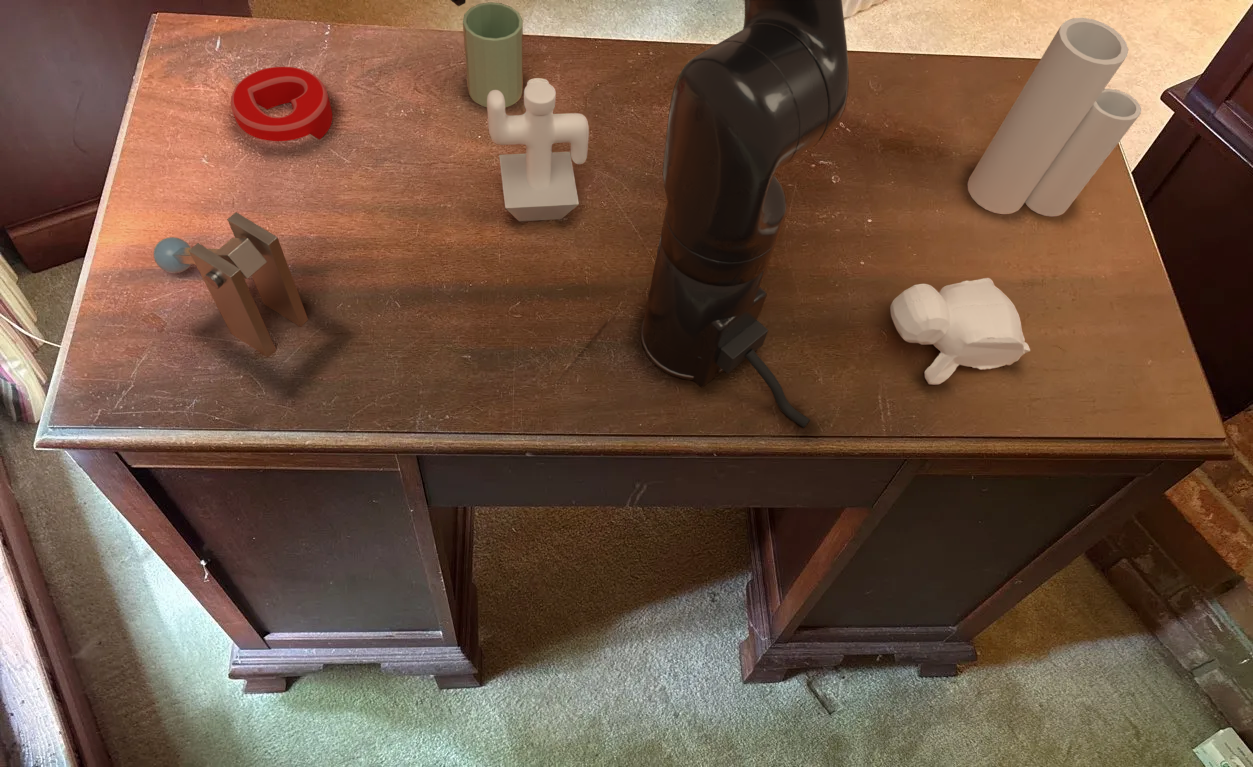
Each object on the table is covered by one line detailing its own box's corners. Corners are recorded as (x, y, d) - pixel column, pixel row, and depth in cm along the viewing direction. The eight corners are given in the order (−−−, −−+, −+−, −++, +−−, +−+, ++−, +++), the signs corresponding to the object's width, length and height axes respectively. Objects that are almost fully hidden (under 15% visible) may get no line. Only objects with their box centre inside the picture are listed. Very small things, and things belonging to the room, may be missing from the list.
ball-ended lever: (165, 279, 80) (139, 251, 78) (192, 257, 82) (167, 229, 80) (246, 287, 70) (219, 255, 68) (275, 261, 71) (249, 229, 69)
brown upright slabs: (203, 334, 79) (151, 241, 68) (260, 284, 82) (219, 188, 71) (288, 389, 77) (248, 303, 66) (342, 336, 80) (313, 245, 69)
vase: (975, 214, 96) (1072, 63, 79) (960, 166, 100) (1049, 12, 83) (1072, 217, 97) (1188, 69, 80) (1053, 169, 101) (1160, 19, 84)
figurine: (587, 228, 90) (597, 114, 77) (495, 233, 88) (489, 118, 75) (578, 176, 93) (586, 59, 81) (489, 180, 92) (483, 62, 79)
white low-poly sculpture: (959, 324, 92) (851, 304, 85) (1022, 274, 86) (911, 248, 78) (990, 394, 88) (879, 379, 80) (1059, 347, 81) (945, 327, 74)
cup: (533, 93, 99) (534, 24, 92) (491, 116, 97) (488, 48, 89) (499, 64, 101) (496, -5, 94) (457, 86, 99) (451, 16, 91)
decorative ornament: (239, 91, 95) (230, 66, 92) (331, 86, 97) (325, 62, 94) (236, 154, 90) (227, 131, 88) (333, 148, 92) (327, 125, 89)
